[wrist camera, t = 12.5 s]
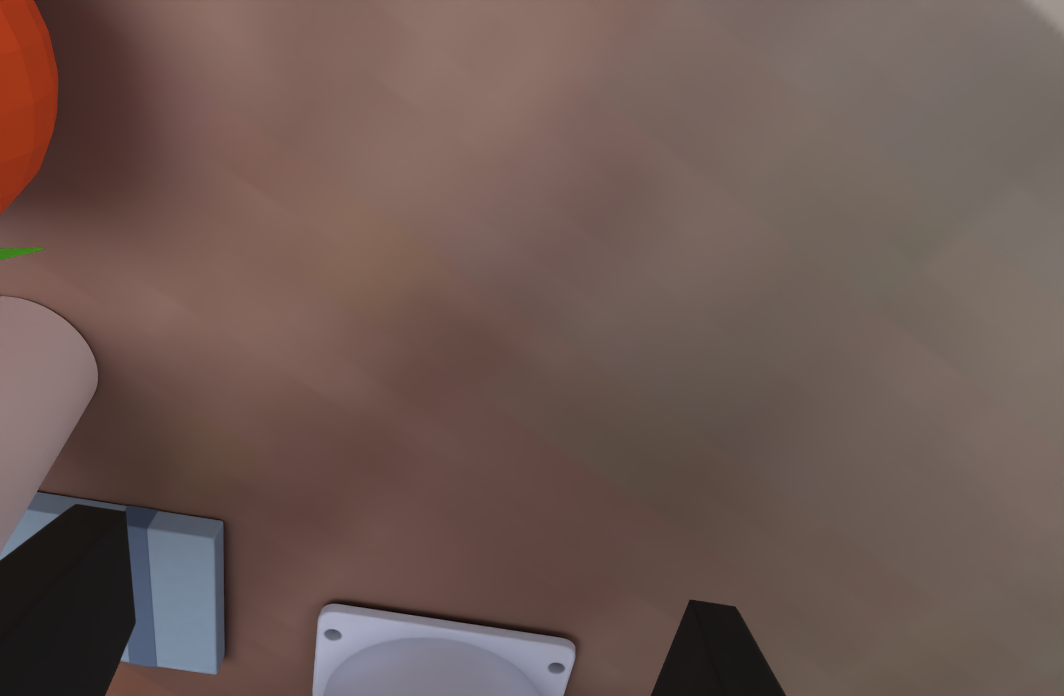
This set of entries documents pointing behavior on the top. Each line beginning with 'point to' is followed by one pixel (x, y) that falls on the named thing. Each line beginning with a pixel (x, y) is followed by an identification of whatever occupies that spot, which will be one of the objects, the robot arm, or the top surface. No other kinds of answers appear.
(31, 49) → the clementine
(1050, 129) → the top surface
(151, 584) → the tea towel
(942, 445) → the top surface
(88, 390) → the smoothie
